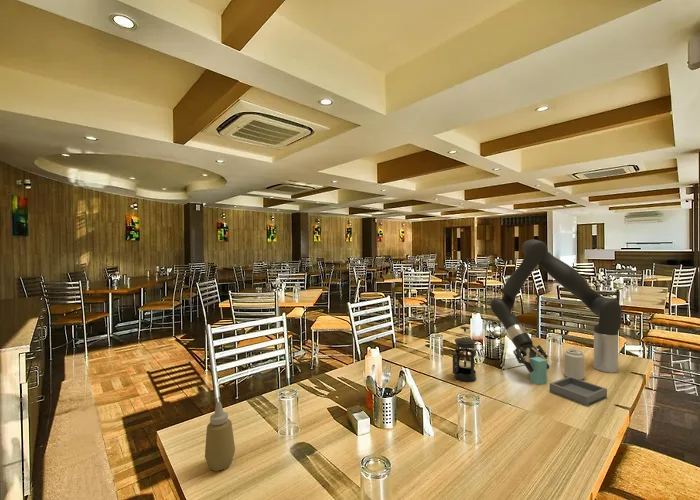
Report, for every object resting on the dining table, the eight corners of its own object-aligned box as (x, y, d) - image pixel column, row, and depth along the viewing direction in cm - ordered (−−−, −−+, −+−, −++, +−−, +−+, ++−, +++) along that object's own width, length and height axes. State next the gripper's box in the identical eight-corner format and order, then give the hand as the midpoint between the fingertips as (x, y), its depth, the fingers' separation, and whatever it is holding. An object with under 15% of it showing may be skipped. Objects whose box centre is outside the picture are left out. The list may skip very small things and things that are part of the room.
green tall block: (537, 379, 152) (538, 356, 151) (546, 383, 148) (546, 360, 147) (529, 380, 150) (530, 358, 150) (538, 385, 146) (538, 361, 146)
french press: (466, 372, 161) (466, 323, 160) (482, 379, 152) (482, 327, 152) (446, 376, 156) (446, 326, 155) (461, 384, 148) (461, 331, 147)
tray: (569, 384, 146) (569, 376, 146) (606, 397, 134) (607, 388, 134) (549, 391, 140) (549, 383, 139) (586, 406, 127) (587, 397, 127)
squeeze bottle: (210, 457, 101) (208, 396, 101) (238, 455, 102) (236, 395, 101) (200, 476, 93) (198, 410, 93) (231, 473, 94) (229, 408, 93)
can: (578, 374, 156) (578, 348, 156) (588, 381, 149) (588, 353, 149) (561, 373, 157) (561, 347, 157) (569, 380, 150) (570, 353, 149)
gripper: (511, 333, 153) (532, 368, 143) (536, 330, 158) (558, 364, 148) (502, 342, 159) (521, 376, 148) (526, 338, 163) (547, 371, 153)
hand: (540, 370), depth 148 cm, fingers open, 8 cm apart
